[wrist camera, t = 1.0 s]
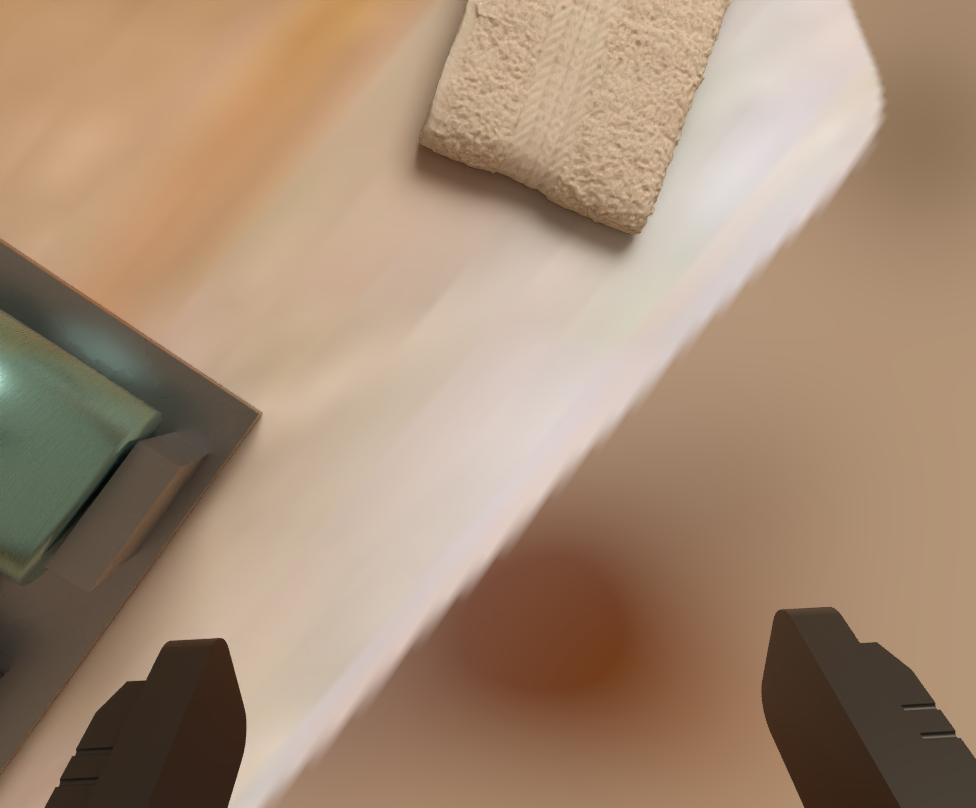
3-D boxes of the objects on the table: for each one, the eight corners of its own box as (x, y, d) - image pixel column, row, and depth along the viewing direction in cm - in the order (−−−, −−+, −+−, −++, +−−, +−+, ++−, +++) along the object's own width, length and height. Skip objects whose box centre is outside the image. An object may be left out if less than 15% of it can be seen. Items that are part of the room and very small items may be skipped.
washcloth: (744, -74, 38) (781, -115, 35) (634, 249, 37) (661, 235, 34) (536, -189, 35) (555, -244, 32) (411, 153, 34) (419, 129, 31)
